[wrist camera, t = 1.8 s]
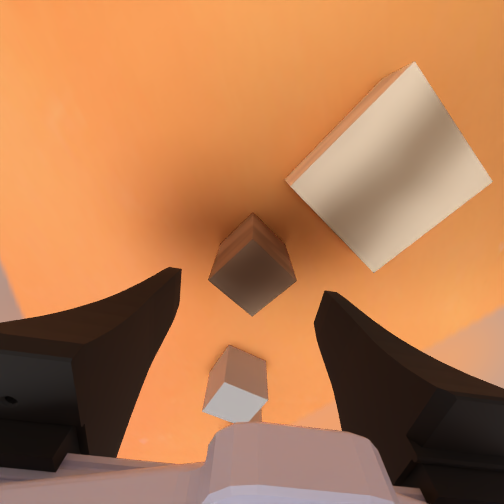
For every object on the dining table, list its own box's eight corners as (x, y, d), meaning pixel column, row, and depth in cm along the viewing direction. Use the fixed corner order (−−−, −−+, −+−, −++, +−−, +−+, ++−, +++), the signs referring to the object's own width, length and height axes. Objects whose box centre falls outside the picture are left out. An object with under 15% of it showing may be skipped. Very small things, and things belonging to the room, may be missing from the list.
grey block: (265, 360, 24) (268, 399, 20) (245, 385, 25) (243, 427, 21) (229, 344, 23) (224, 382, 19) (209, 371, 24) (202, 411, 21)
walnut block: (285, 244, 19) (296, 280, 14) (252, 273, 20) (252, 316, 15) (252, 212, 18) (252, 238, 13) (220, 244, 19) (208, 280, 14)
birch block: (447, 175, 17) (492, 181, 14) (353, 251, 19) (373, 272, 16) (379, 79, 15) (414, 61, 12) (283, 178, 17) (290, 186, 14)
